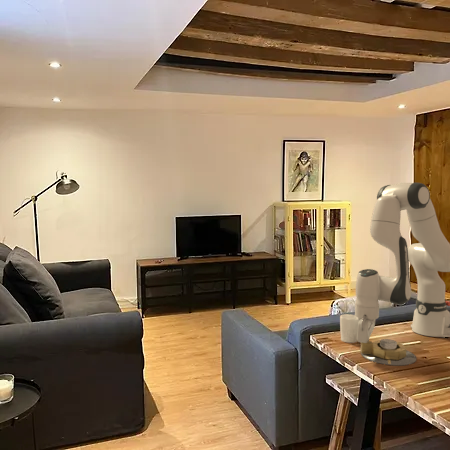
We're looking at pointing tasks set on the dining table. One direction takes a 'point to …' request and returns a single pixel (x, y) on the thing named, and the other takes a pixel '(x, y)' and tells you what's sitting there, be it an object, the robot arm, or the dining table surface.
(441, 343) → the dining table surface
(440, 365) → the dining table surface
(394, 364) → the hub plate
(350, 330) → the white cup
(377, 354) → the ring nut
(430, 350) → the dining table surface
